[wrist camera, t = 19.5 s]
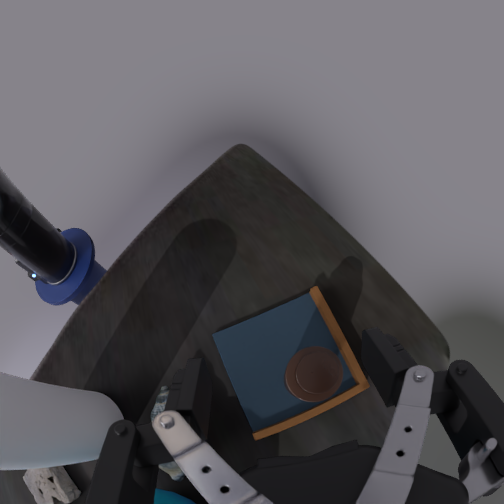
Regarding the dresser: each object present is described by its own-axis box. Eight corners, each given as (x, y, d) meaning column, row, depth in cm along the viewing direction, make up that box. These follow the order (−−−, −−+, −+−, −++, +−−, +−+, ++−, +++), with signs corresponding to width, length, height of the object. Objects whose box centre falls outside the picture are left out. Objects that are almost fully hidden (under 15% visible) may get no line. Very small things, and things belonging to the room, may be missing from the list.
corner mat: (256, 437, 28) (255, 440, 26) (213, 335, 35) (209, 331, 33) (364, 387, 30) (370, 386, 28) (314, 291, 37) (317, 285, 35)
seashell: (151, 452, 29) (189, 390, 33) (184, 485, 24) (228, 418, 28) (116, 447, 24) (156, 378, 29) (148, 486, 19) (195, 411, 24)
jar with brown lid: (293, 405, 29) (301, 413, 18) (276, 369, 31) (275, 358, 21) (332, 386, 30) (358, 384, 19) (314, 351, 32) (332, 331, 22)
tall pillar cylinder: (65, 424, 29) (-64, 404, 7) (89, 378, 33) (-48, 332, 11) (109, 469, 26) (-26, 488, 4) (138, 422, 30) (-15, 420, 8)
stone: (89, 491, 23) (53, 447, 26) (65, 498, 17) (29, 448, 21) (70, 519, 19) (39, 480, 23) (50, 525, 14) (18, 482, 18)
